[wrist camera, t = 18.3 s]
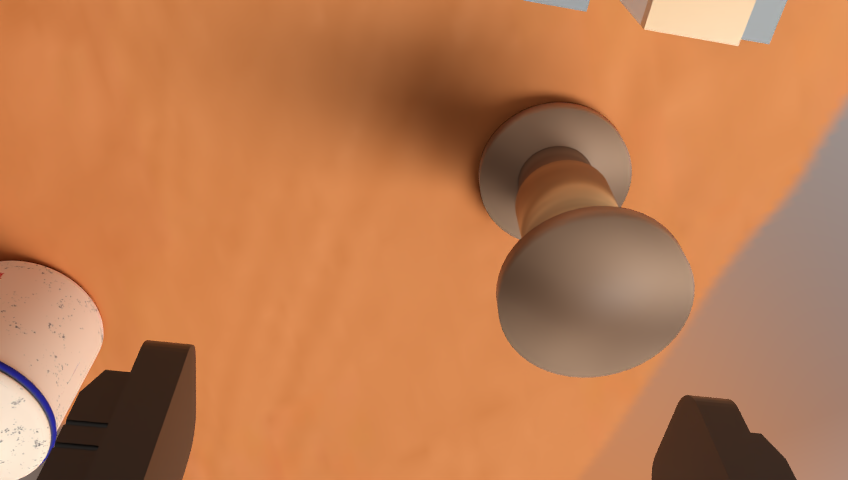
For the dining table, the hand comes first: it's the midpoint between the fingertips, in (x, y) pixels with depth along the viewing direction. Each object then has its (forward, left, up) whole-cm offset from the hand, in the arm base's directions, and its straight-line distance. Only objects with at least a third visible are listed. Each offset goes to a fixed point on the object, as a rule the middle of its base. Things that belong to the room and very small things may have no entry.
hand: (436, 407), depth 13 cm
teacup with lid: (+25, -20, -29) cm, 43 cm away
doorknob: (+9, +9, -29) cm, 31 cm away
